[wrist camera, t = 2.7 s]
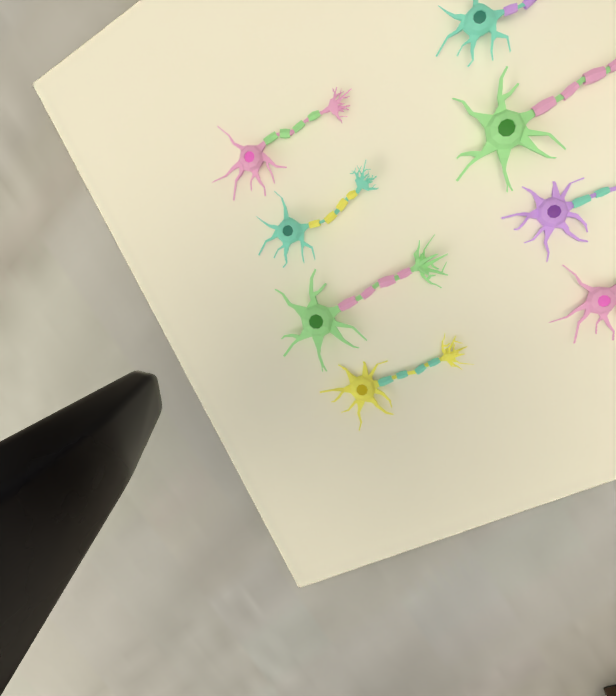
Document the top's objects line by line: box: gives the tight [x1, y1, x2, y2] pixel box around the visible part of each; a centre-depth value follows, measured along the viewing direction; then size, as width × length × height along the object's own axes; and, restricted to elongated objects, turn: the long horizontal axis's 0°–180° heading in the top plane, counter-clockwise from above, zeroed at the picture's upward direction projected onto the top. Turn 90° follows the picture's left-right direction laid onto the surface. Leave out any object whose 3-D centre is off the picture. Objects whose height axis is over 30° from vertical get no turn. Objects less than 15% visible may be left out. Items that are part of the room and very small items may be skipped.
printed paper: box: [33, 0, 616, 588], centre depth 22 cm, size 30×30×2 cm
